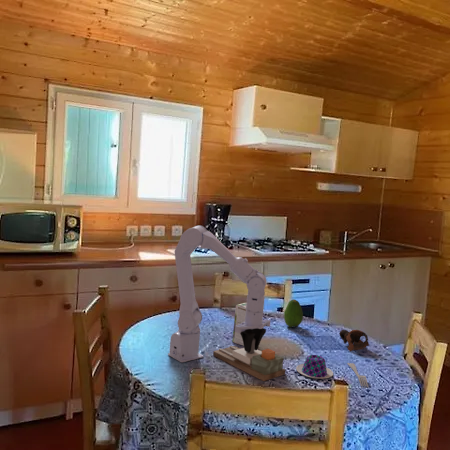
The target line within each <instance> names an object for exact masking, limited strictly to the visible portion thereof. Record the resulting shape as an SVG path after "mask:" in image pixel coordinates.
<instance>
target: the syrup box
mask: <svg viewBox="0 0 450 450" xmlns="http://www.w3.org/2000/svg"><path fill="white" fill-rule="evenodd" d="M245 313H246V302H243V303H240V304H236V305H235V310H234V320H233V330H232V338H231V339H232V340H231V341H232V343H235V344H237V345H240V346H243V347H244V343H243V339H242V336H241V334H240V333H237V332H235V326H236V325H239V324H241V323H243V322H245Z"/></svg>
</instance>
